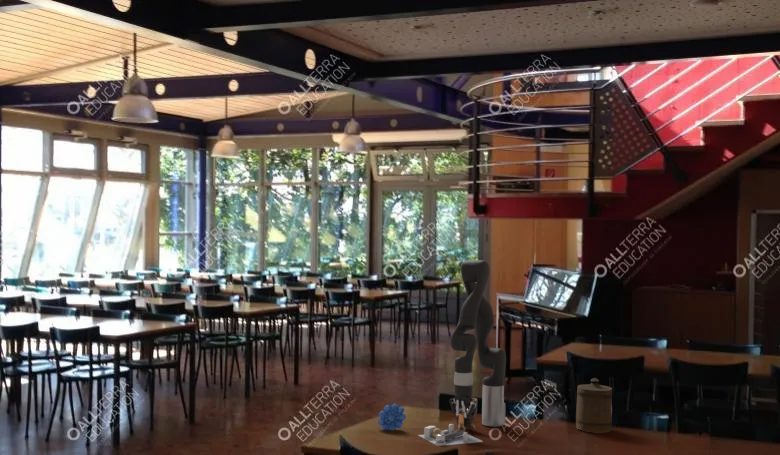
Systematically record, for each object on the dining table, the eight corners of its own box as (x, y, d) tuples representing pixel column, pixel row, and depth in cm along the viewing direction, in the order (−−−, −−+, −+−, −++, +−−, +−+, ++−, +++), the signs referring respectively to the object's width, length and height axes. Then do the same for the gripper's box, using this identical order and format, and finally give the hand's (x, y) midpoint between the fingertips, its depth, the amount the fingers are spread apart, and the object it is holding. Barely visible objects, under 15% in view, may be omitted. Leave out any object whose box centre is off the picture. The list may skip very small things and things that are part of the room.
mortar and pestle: (475, 435, 324) (475, 386, 325) (454, 433, 326) (454, 385, 327) (477, 428, 336) (478, 381, 336) (457, 427, 337) (458, 380, 338)
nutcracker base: (461, 434, 325) (461, 419, 326) (483, 444, 309) (483, 429, 309) (417, 437, 317) (417, 423, 318) (438, 449, 301) (438, 433, 301)
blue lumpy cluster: (407, 430, 330) (407, 401, 330) (404, 434, 323) (405, 405, 323) (379, 429, 331) (380, 400, 332) (376, 432, 325) (377, 403, 325)
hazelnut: (439, 436, 315) (439, 426, 315) (444, 439, 311) (444, 429, 312) (430, 437, 314) (430, 427, 314) (434, 440, 310) (435, 429, 310)
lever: (441, 443, 302) (442, 421, 302) (432, 441, 305) (432, 420, 305) (467, 434, 318) (467, 413, 318) (458, 432, 320) (458, 412, 320)
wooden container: (618, 431, 337) (619, 379, 337) (595, 435, 329) (596, 382, 329) (592, 424, 349) (592, 374, 350) (568, 428, 341) (569, 376, 341)
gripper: (482, 384, 316) (482, 427, 316) (456, 379, 326) (456, 421, 326) (470, 386, 311) (470, 430, 311) (444, 381, 321) (443, 424, 321)
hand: (463, 425), depth 318 cm, fingers closed on lever, 3 cm apart
